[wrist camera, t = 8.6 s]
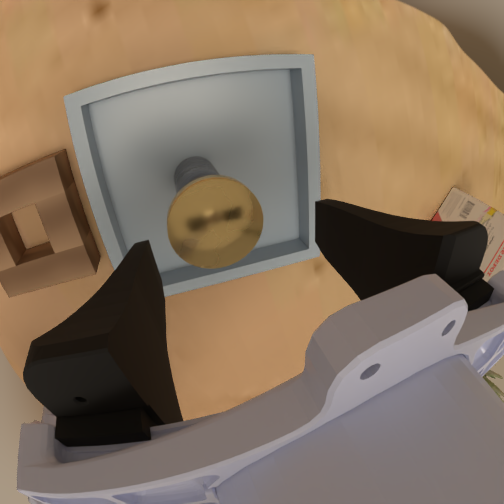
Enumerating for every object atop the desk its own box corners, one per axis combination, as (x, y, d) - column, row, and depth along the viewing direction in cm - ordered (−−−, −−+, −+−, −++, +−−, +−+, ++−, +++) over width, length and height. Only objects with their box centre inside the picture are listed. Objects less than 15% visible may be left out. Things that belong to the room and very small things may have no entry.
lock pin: (229, 198, 22) (266, 256, 15) (170, 211, 21) (179, 278, 14) (221, 141, 19) (259, 170, 12) (158, 154, 18) (156, 192, 12)
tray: (306, 242, 27) (319, 256, 24) (130, 286, 23) (129, 305, 21) (297, 57, 18) (313, 54, 16) (74, 96, 15) (63, 96, 13)
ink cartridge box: (430, 254, 34) (507, 321, 22) (417, 238, 31) (505, 311, 19) (463, 204, 32) (545, 259, 19) (453, 184, 29) (547, 241, 17)
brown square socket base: (100, 256, 21) (96, 274, 19) (18, 280, 20) (9, 297, 18) (65, 148, 16) (54, 156, 14) (-22, 188, 15) (-37, 199, 13)
